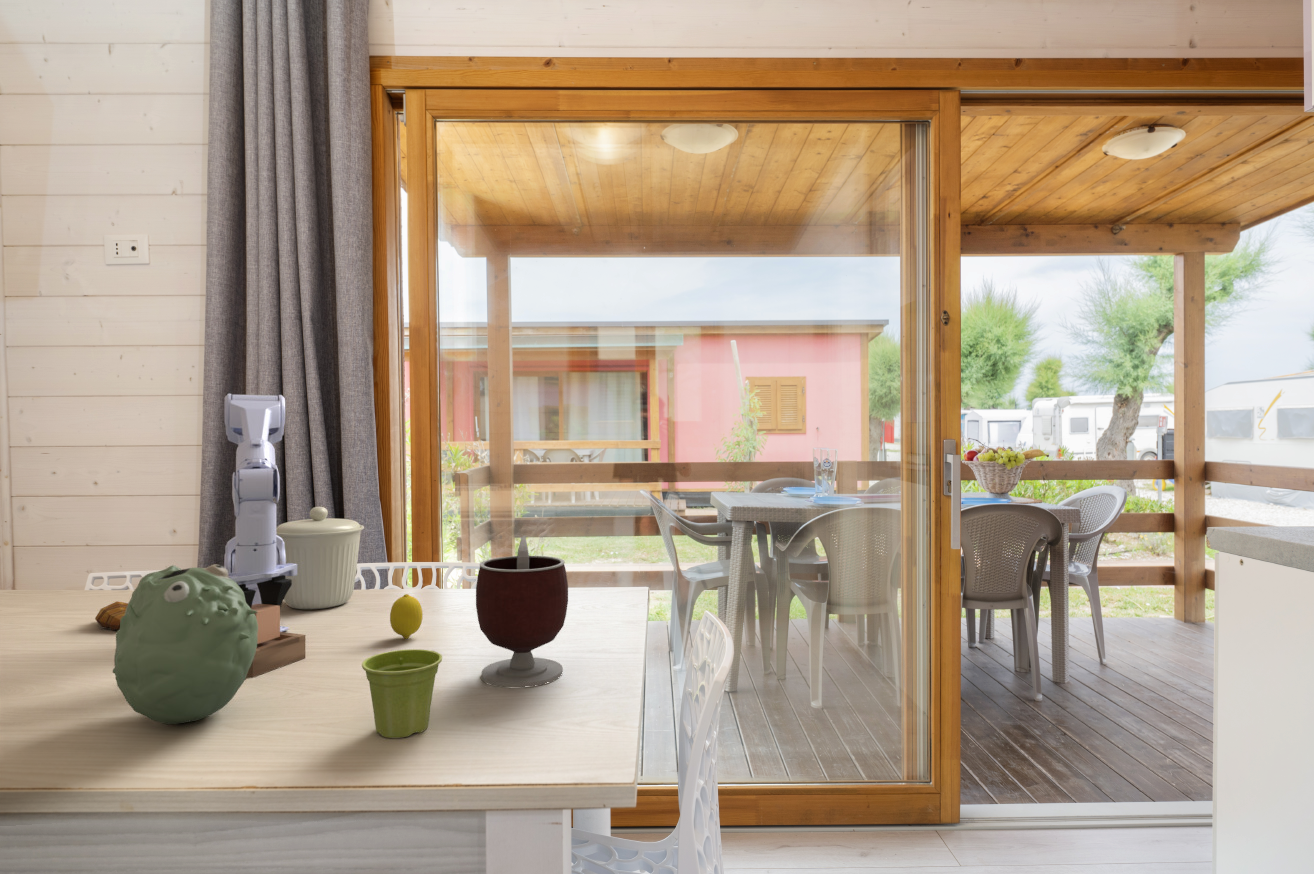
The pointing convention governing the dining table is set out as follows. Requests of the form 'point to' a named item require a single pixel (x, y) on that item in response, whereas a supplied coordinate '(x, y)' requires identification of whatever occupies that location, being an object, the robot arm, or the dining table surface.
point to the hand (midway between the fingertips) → (256, 628)
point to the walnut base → (277, 653)
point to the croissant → (111, 615)
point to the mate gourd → (521, 614)
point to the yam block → (267, 621)
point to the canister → (321, 559)
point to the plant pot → (402, 690)
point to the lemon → (406, 616)
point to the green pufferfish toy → (184, 644)
